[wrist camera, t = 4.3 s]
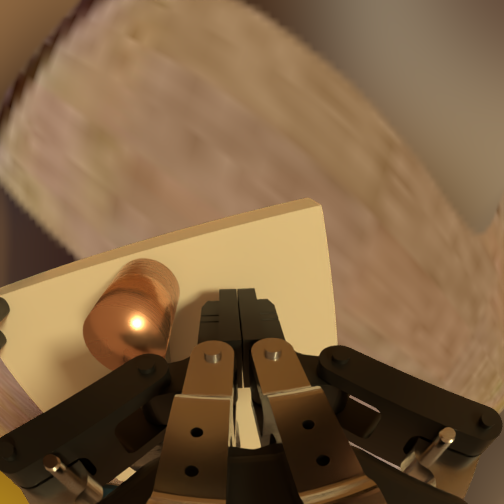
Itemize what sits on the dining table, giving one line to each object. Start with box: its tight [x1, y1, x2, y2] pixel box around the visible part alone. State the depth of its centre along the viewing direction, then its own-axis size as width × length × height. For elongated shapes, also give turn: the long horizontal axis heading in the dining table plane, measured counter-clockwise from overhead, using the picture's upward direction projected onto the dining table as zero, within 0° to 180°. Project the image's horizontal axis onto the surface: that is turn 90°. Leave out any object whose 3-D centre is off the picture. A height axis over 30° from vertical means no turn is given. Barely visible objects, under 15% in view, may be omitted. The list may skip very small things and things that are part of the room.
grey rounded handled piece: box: [83, 258, 241, 471], centre depth 13 cm, size 18×10×4 cm, turn 174°
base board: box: [0, 198, 337, 481], centre depth 16 cm, size 24×24×4 cm
